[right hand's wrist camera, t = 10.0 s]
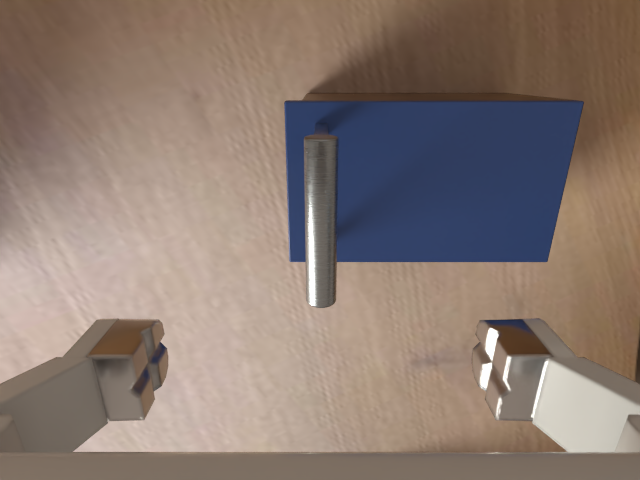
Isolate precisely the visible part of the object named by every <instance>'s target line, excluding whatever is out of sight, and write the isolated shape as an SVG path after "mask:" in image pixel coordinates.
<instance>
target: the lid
mask: <svg viewBox="0 0 640 480" xmlns="http://www.w3.org/2000/svg"><path fill="white" fill-rule="evenodd" d="M284 104H285V135H286V167H287V199H288V231H289V261H290V262H306V300H307V303H308V304H309V305H311V306H313V307H318V308H325V307H329V306H331V305H333V304H334V303H335V301H336V270H337V262H547V261H548V257H549V252H550V248H551V243H552V239H553V235H554V230H555V226H556V222H557V217H558V213H559V209H560V204H561V200H562V195H563V191H564V187H565V182H566V178H567V174H568V169H569V165H570V161H571V156H572V152H573V147H574V143H575V139H576V134H577V130H578V126H579V121H580V117H581V113H582V108H583V104H584V102H583V101H577V100H416V101H285V103H284Z"/></svg>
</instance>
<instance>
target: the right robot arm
mask: <svg viewBox="0 0 640 480" xmlns="http://www.w3.org/2000/svg"><path fill="white" fill-rule="evenodd" d="M163 336H164V329H163V325H162V322H161V321H160V320H152V319H99V320H96V321H95V322H94V324H93V325H92V326H91V327H90V328H89V329H88V330H87V331H86V332H85V333H84V334H83V336H82V337H81V338H80V339H79V340H78V341H77V342H76V343H75V344H74V345H73V346H72V347H71V349H70V350H69V351H68V352H67V353H66V354H65V355H64V356H63V357H56V358H54V359H52V360H49V361H47V362H45V363H43V364H41V365H39V366H37V367H35V368H33V369H30V370H28V371H26V372H24V373H22V374H20V375H18V376H16V377H14V378H12V379H9V380H7V381H5V382H3V383H1V384H0V480H640V384H639V383H637V382H635V381H632V380H630V379H628V378H626V377H624V376H622V375H620V374H618V373H616V372H614V371H612V370H609V369H607V368H605V367H603V366H601V365H599V364H597V363H595V362H593V361H591V360H588V359H586V358H584V357H577V356H576V355H575V354H574V353H573V352H572V351H571V350H570V349H569V347H568V346H567V345H566V344H565V343H564V342H563V341H562V340H561V339H560V338H559V337H558V335H557V334H556V333H555V332H554V331H553V330H552V329H551V328H550V327H549V326H548V325H547V324H546V322H545V321H544V320H541V319H539V318H538V319H514V320H480V321H479V323H478V325H477V329H476V336H477V338H478V339H479V341H480V342H479V343H478V344H477V345H476V346H475V347H474V348H473V353H472V371H473V374H474V378H475V380H476V382H477V384H478V386H479V387H481V388H482V389H484V390H485V391H486V397H485V400H486V402H487V404H488V406H489V408H490V410H491V412H492V414H493V415H494V417H495V419H496V420H511V421H532V423H533V424H534V425H535V426H537V427H538V428H539V429H540V430H542V431H543V432H544V433H545V434H546V435H548V436H549V437H550V438H551V439H553V440H554V441H555V442H556V443H558V444H559V445H560V446H561V447H562V448H564V449H565V450H566V451H567V452H73V451H74V450H75V449H76V448H78V447H79V446H80V445H81V444H83V443H84V442H85V441H86V440H88V439H89V438H90V437H91V436H92V435H94V434H95V433H96V432H97V431H99V430H100V429H101V428H102V427H104V426H105V425H106V424H107V423H108V421H128V420H144V419H145V417H146V416H147V414H148V412H149V410H150V408H151V406H152V404H153V402H154V400H155V397H154V391H155V390H156V389H158V388H159V387H161V386H162V384H163V382H164V380H165V378H166V374H167V369H168V352H167V348H166V347H165V346H164V345H163V344H162V343H161V342H160V341H161V339H162V338H163Z"/></svg>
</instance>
